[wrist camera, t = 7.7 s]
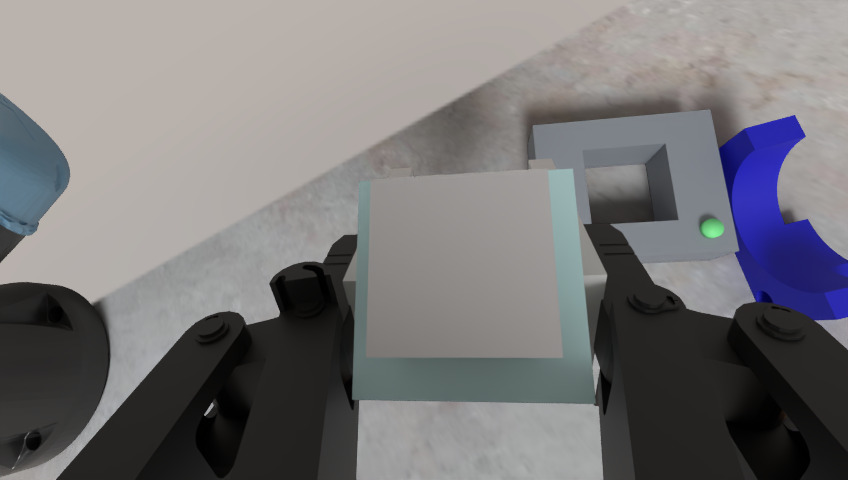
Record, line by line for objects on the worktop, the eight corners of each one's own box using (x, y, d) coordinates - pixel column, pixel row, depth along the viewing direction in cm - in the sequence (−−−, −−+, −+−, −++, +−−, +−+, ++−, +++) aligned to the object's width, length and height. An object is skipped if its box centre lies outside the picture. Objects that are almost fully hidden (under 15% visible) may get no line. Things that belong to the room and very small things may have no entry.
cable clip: (831, 306, 28) (923, 299, 22) (763, 322, 28) (837, 319, 22) (755, 150, 31) (820, 108, 25) (695, 166, 31) (744, 128, 25)
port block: (538, 268, 31) (546, 259, 27) (527, 146, 33) (533, 121, 29) (709, 260, 29) (744, 249, 25) (685, 133, 31) (714, 105, 28)
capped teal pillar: (431, 361, 18) (302, 424, 5) (430, 270, 18) (319, 131, 6) (525, 361, 17) (644, 433, 4) (520, 267, 18) (604, 108, 5)
